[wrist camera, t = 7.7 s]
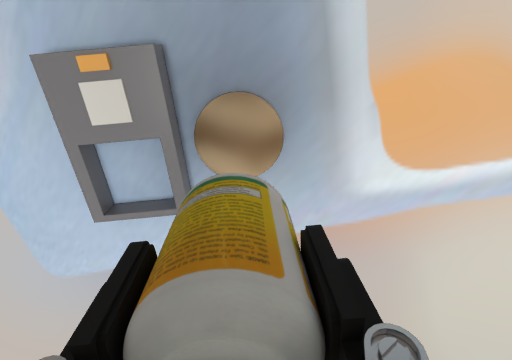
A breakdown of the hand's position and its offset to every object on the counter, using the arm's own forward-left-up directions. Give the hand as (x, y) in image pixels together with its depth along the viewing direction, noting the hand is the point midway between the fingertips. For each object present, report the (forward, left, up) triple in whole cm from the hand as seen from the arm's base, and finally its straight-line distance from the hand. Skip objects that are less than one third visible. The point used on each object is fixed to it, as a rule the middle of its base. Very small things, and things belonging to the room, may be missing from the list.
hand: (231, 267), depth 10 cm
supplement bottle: (0, 0, -4) cm, 4 cm away
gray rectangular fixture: (-1, -11, -19) cm, 22 cm away
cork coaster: (0, 0, -19) cm, 19 cm away
